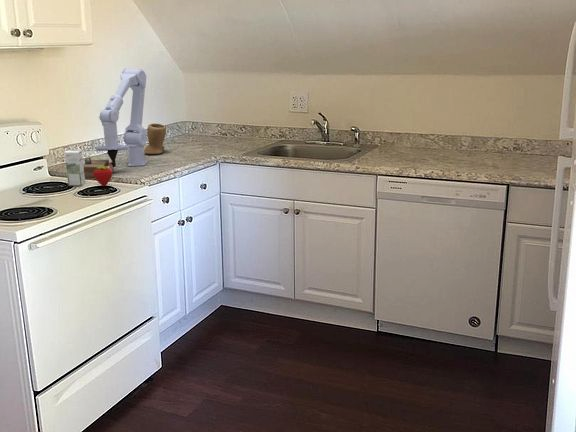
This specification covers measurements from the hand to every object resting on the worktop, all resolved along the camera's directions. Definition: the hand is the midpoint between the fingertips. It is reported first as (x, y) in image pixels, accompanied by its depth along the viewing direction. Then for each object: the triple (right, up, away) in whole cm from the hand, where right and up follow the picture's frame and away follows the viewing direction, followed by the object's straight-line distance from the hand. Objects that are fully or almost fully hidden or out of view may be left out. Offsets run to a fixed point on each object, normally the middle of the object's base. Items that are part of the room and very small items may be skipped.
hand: (114, 166), depth 289 cm
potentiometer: (-10, +1, -5) cm, 11 cm away
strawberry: (+2, -10, -24) cm, 26 cm away
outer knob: (-5, -4, -7) cm, 9 cm away
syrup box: (-10, -9, -20) cm, 24 cm away
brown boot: (+11, +10, +42) cm, 44 cm away
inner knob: (-6, -2, 0) cm, 7 cm away
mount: (-7, -4, -3) cm, 9 cm away
